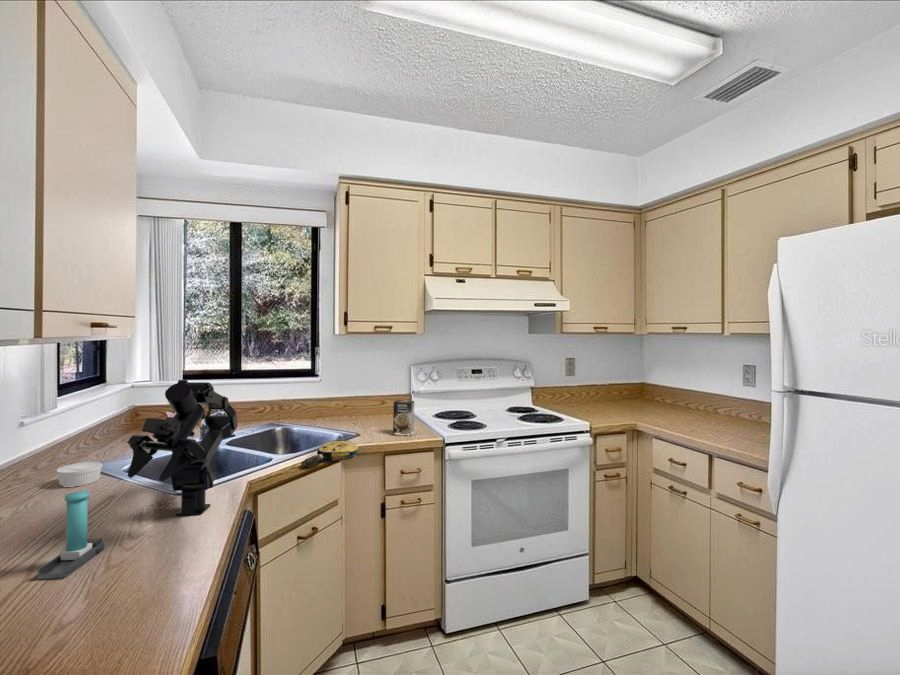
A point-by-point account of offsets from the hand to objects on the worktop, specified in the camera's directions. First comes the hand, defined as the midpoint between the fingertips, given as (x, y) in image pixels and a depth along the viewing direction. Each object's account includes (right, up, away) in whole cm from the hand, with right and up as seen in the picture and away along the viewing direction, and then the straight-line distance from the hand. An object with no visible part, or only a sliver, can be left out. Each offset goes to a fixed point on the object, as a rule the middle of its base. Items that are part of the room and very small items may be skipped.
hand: (144, 478), depth 108 cm
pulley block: (+26, -14, +68) cm, 74 cm away
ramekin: (-45, -13, +37) cm, 60 cm away
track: (-6, -14, -13) cm, 20 cm away
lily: (-61, -12, +115) cm, 131 cm away
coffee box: (+49, -14, +112) cm, 124 cm away
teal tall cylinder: (-6, -12, -12) cm, 18 cm away
